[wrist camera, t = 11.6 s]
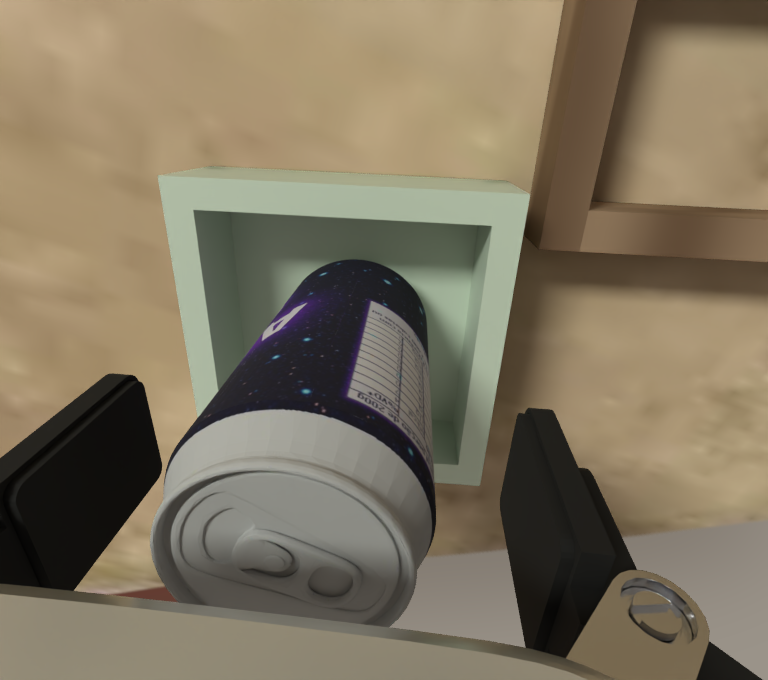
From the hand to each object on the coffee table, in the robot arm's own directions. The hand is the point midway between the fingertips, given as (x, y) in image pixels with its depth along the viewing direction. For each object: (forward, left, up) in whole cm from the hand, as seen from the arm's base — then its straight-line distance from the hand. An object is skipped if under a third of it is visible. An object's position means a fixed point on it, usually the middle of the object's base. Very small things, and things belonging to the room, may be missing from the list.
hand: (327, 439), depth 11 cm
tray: (+1, 0, -10) cm, 10 cm away
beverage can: (0, 0, -9) cm, 9 cm away
